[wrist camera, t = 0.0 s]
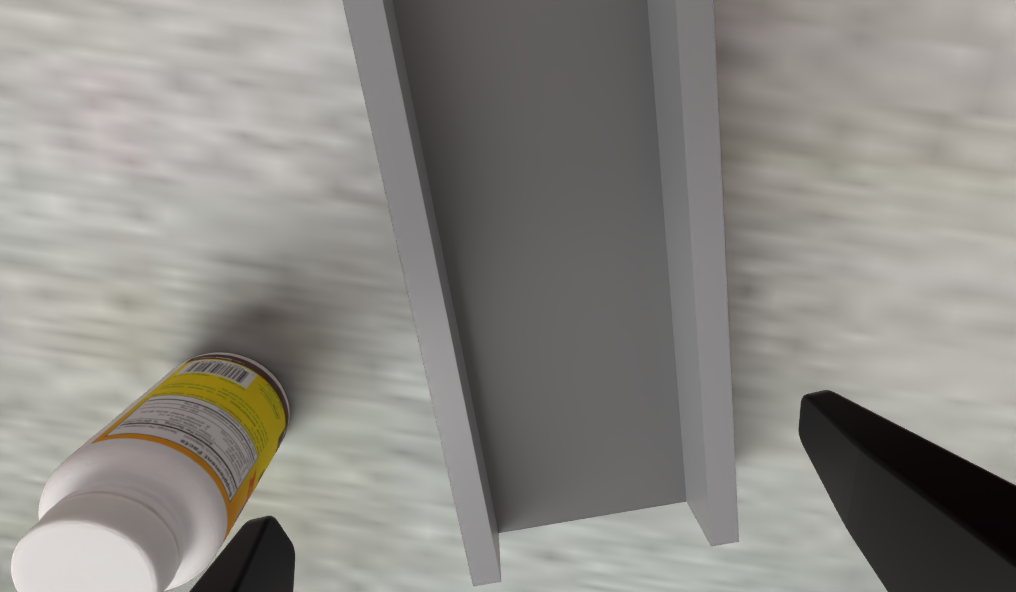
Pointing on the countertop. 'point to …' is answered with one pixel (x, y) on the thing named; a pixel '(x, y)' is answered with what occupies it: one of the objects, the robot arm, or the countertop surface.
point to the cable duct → (560, 252)
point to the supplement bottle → (157, 483)
